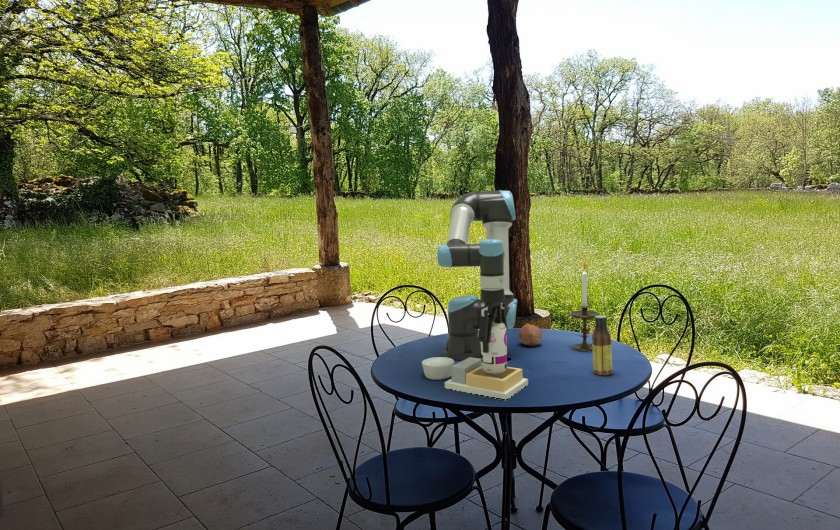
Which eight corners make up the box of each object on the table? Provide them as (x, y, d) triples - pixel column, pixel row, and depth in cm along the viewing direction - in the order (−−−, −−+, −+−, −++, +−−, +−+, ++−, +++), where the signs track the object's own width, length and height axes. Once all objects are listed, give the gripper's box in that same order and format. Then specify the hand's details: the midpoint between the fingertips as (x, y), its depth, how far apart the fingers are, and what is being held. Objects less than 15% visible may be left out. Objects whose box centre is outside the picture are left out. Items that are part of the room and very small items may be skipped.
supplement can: (506, 366, 176) (505, 321, 175) (507, 374, 168) (507, 326, 166) (481, 366, 177) (480, 321, 175) (481, 374, 169) (480, 327, 167)
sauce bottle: (612, 371, 186) (612, 314, 184) (612, 376, 180) (612, 318, 178) (592, 369, 188) (592, 314, 186) (591, 375, 182) (591, 317, 180)
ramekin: (417, 374, 191) (417, 359, 191) (446, 369, 196) (445, 355, 195) (430, 383, 181) (429, 368, 180) (460, 377, 185) (459, 363, 185)
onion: (523, 350, 226) (517, 327, 229) (545, 345, 224) (539, 321, 227) (520, 348, 217) (514, 324, 220) (543, 342, 215) (536, 318, 218)
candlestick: (574, 344, 222) (574, 259, 218) (601, 346, 216) (601, 260, 212) (567, 350, 213) (566, 262, 209) (595, 353, 207) (595, 263, 203)
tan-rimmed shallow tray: (444, 388, 175) (444, 367, 174) (469, 374, 188) (468, 355, 187) (506, 400, 162) (505, 378, 162) (528, 384, 175) (527, 364, 174)
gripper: (487, 294, 159) (488, 369, 162) (517, 284, 176) (518, 352, 179) (465, 292, 163) (467, 365, 166) (497, 283, 180) (498, 349, 183)
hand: (494, 358), depth 172 cm, fingers closed on supplement can, 8 cm apart
